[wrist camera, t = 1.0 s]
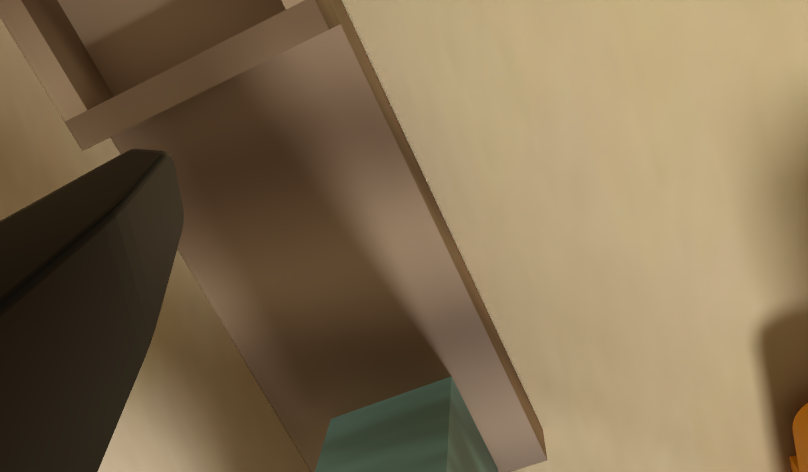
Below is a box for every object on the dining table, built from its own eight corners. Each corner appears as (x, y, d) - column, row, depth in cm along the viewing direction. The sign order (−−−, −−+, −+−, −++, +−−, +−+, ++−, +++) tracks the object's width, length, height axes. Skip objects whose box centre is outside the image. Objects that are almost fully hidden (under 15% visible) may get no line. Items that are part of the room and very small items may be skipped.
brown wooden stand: (542, 429, 23) (623, 981, 11) (349, 492, 25) (223, 1036, 12) (197, -307, 17) (-587, -1056, 4) (-32, -160, 19) (-1087, -405, 6)
